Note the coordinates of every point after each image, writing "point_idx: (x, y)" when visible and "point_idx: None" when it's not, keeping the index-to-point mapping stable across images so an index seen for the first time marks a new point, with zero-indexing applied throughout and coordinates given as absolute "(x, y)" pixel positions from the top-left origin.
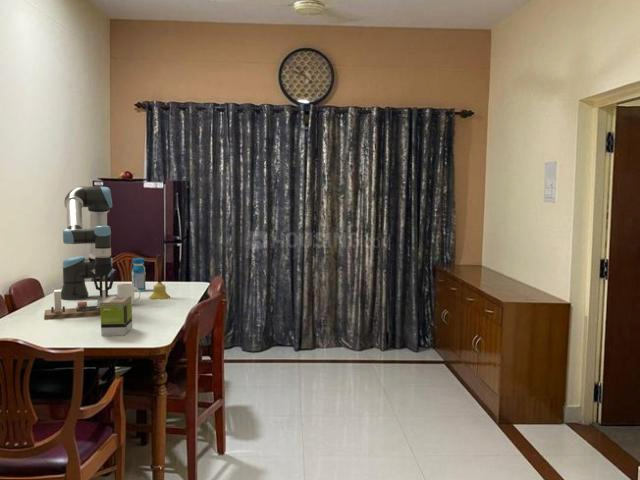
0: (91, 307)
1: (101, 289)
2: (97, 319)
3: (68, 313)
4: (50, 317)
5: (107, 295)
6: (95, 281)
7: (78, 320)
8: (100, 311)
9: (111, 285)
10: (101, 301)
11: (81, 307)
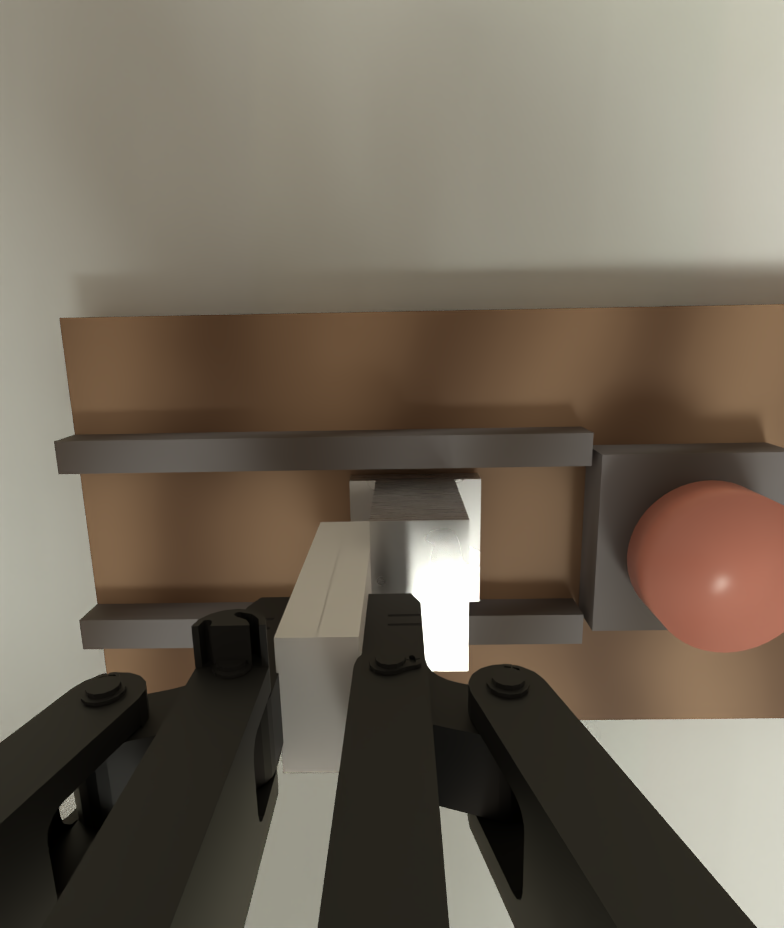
0: (536, 607)
1: (380, 658)
2: (473, 16)
3: None
4: None
5: (255, 608)
6: (659, 907)
7: (749, 35)
8: (416, 325)
9: (22, 749)
10: (392, 511)
11: None
